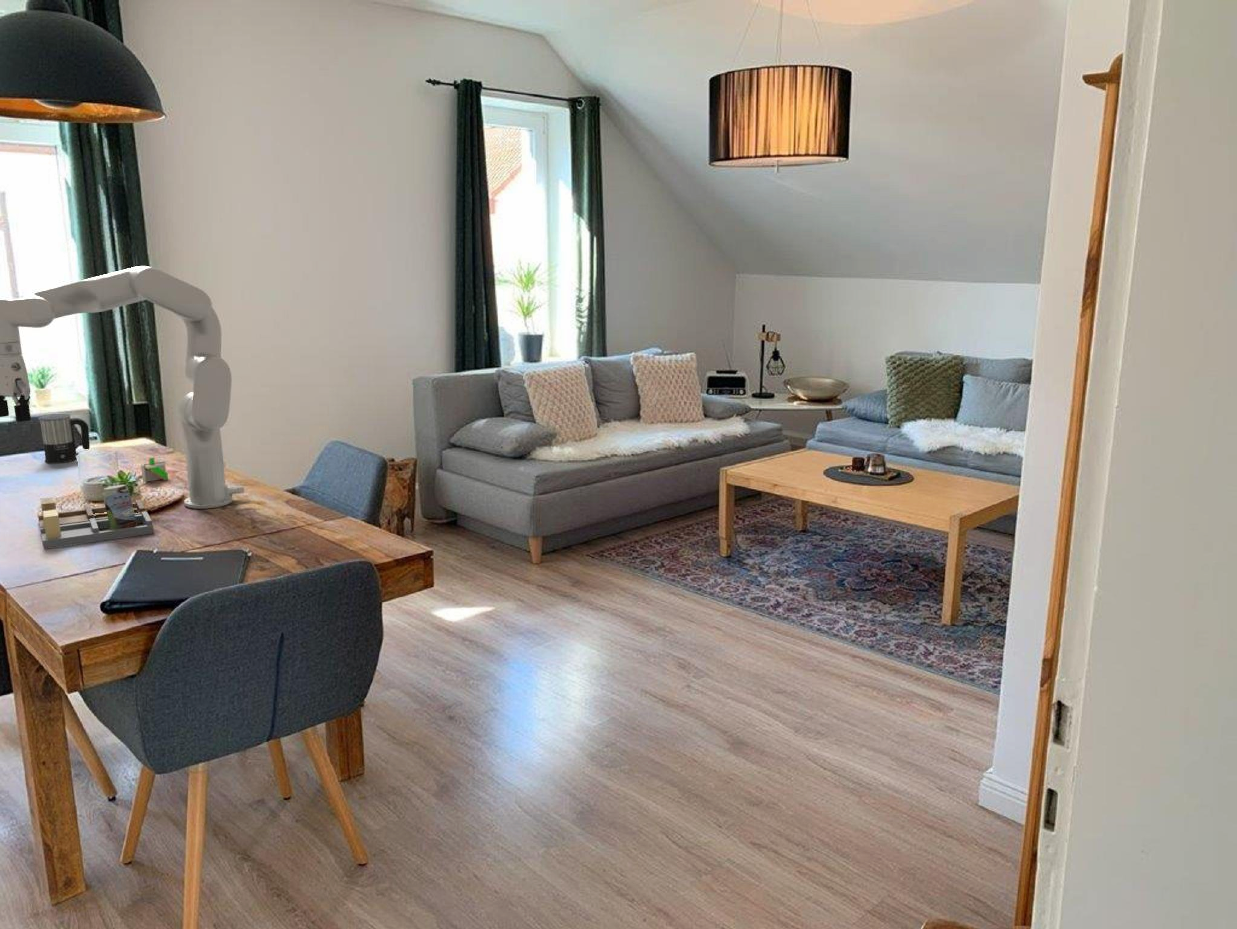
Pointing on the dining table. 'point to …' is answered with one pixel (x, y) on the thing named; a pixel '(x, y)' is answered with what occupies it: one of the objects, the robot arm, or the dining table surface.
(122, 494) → the grey printed packet
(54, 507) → the plank with end posts
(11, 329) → the robot arm
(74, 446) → the milk frother
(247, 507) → the dining table surface
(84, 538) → the grey divided tray
